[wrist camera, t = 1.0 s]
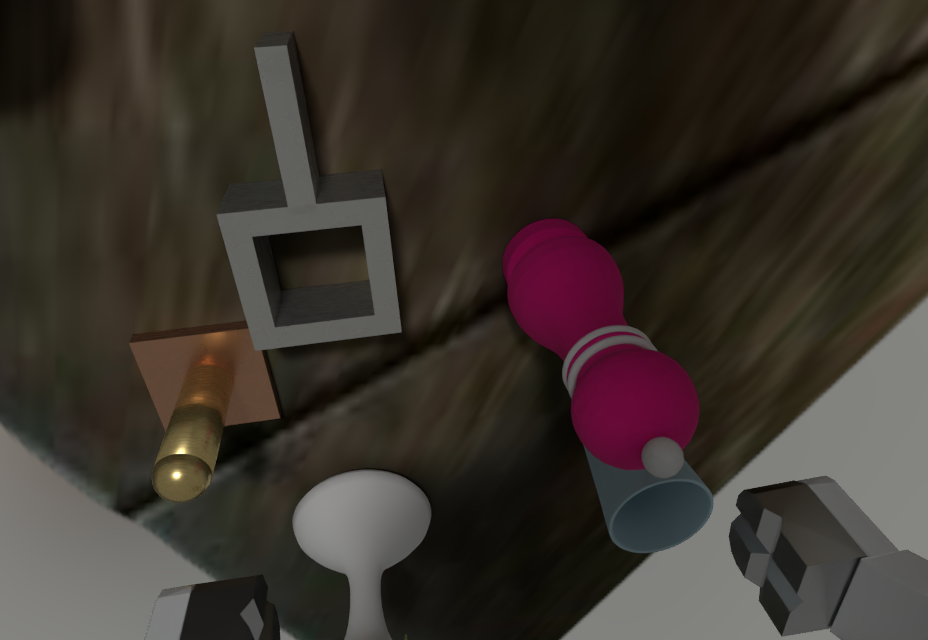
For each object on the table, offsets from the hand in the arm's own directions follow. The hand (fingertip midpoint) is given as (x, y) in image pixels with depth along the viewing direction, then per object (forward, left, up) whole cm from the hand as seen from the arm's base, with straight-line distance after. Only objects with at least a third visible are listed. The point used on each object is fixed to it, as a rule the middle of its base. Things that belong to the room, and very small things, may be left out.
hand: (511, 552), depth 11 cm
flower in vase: (+32, -6, -31) cm, 45 cm away
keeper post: (+17, -15, -31) cm, 38 cm away
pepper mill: (+11, +9, -31) cm, 34 cm away
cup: (+27, +15, -31) cm, 44 cm away
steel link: (+4, -6, -31) cm, 31 cm away
